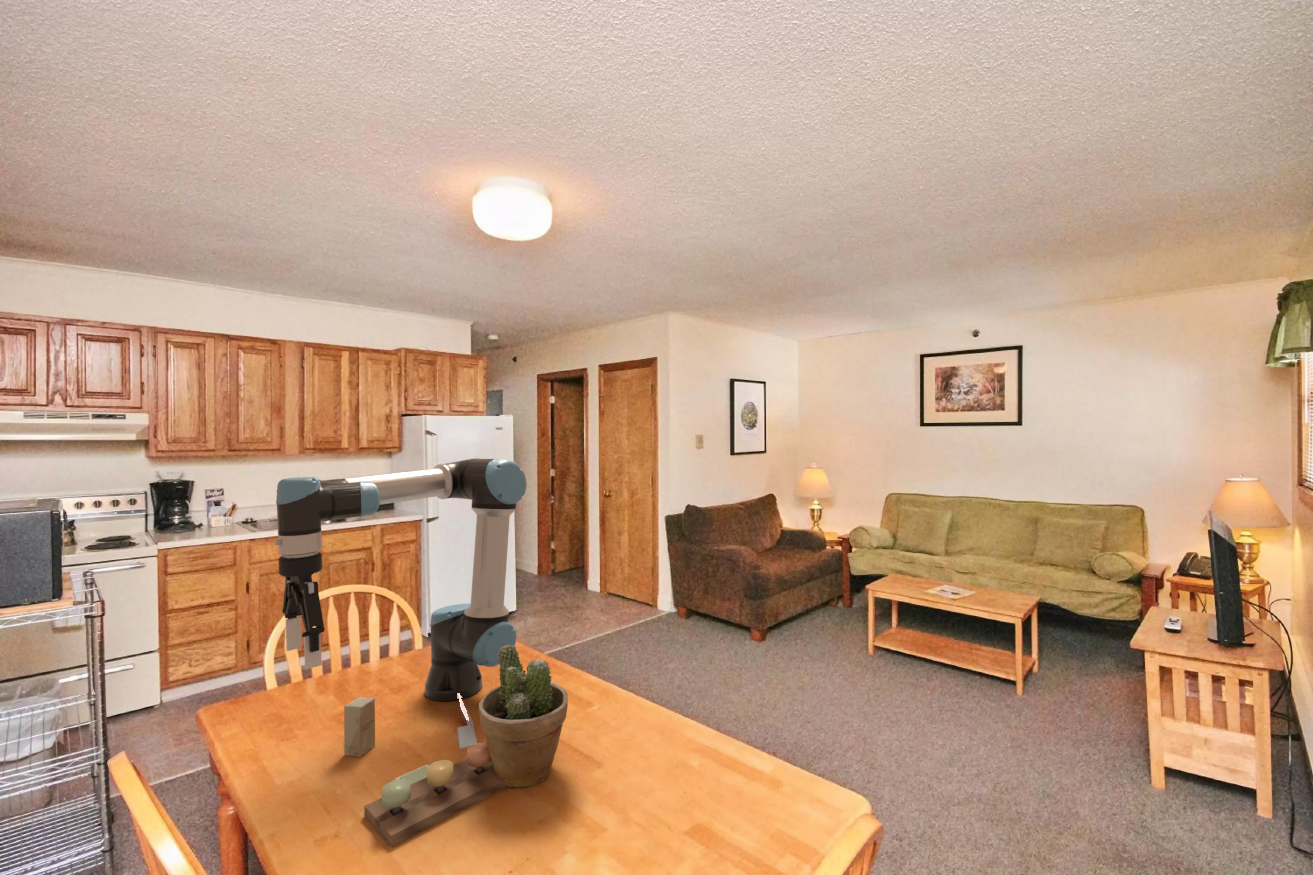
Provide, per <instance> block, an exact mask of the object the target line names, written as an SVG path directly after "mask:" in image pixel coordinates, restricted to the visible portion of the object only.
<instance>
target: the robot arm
mask: <svg viewBox="0 0 1313 875" xmlns="http://www.w3.org/2000/svg"><path fill="white" fill-rule="evenodd" d="M276 488H277V489H276V500H275V504H276V513H277V517H276V518H277V537H278V540H275V541H274V543H275V544H274V545H275V546H278V554H279V555H280V556H279V558H278V574H279V575H280V576H281V577H284V578H285V581H284V582H285V585H284V593H283V602H282V610H281V611H282V613H283V614H284V615H283V616H284V619H285V642H286V643H285V644H286V645H285V646H286V647H285V649H286V651H287V652H290V651H293V650H298V649H302V648H303V647H304V650H303V651H304V669H305V670H310V669H312V668H316V667H320V666H322V637H321V633H324V632H325V624H324V618H323V613H322V607H321V600H320V596H319V595H320V594H319V582H318V581H313V578H312V575H313V574H317V573H320V571H322V570H323V554H322V553H321V552H320V551H321V550H322V549H323V540H322V538H323V535H322V522H328V521H335V520H342V519H343V520H344V519H352V518H363V517H365V516H366V517H367V516H370V515H374V514H375V513H376V512H377V511H378V510H379V508H380V505H386V504H387V505H388V504H394V503H395V504H396V503H400V502H408V501H415V500H422V499H426V498H435V497H437V498H438V499H440V500H446V499H460V500H461V499H464V500H471V510H472V511H473V512H474V513H475V514H476V525H475V536H474V538H475V539H474V550H473V551H474V552H473V567H472V579H471V595H470V603H458V604H452V605H446V606H443V607H440V608H437V609H436V610H434V611H432V613H431V616H430V623H429V626H430V656H431V660H430V661H431V664H430V668H429V670H428V671H429V672H428V675H427V677H426V681H425V685H424V695H425V697H427V699H429V700H432V701H437V702H449V701H450V702H452V701H458V700H457V693H460V695H461V696H462V697H463V698H462V699H465V698H469V697H470V696H473V695H475V694H476V693H478V692H479V691H481V690H482V688H483V676H482V673H481V671H480V670H481V669H480V668H479V666H480V667H482V666H484V667H487V668H493V667H497V666H500V664H499V661H498V660H499V658H497V656H498V652H499V650H500V648H501V647H503V646H508V645H512V646H514V647H515V648H516V646H515V645H516V643H517V636H518V635H517V630H516V628H514V625H513V624H512V623H510V622H509V619H510V611H509V609H508V608H507V607H506V605H505V592H506V591H505V590H506V576H507V575H506V574H507V561H508V545H509V531H510V519H511V518H510V516H511V515H512V514H513V513H514V512H515V511H516V510H517V503H518V502H519V501H521V500H522V498H523V496H524V495H525V493H526V490H527V478H526V475H525V472H524V470H523V469H522V468H521V466H520V465H519V464H518V463H517V462H515V461H513V460H510V459H504V458H468V459H464V460H463V459H462V460H459V461H458V460H457V461H453V462H448V463H440V464H437V465H435V466H434V467H433V468H429V469H419V470H416V469H415V470H410V471H399V472H389V473H381V474H373V475H372V474H371V475H363V476H362V475H360V476H354V477H353V476H351V477H344V478H336V479H335V478H334V479H325V480H321V479H319V478H318V477H316V476H303V477H302V476H301V477H299V476H298V477H287V478H283V479H280V480H279V481H278V483H277V485H276ZM302 622H303V628H304V632H303V631H302V630H303V629H302ZM302 640H303V641H302ZM303 644H304V645H303Z"/></svg>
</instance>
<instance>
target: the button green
mask: <svg viewBox="0 0 1313 875" xmlns="http://www.w3.org/2000/svg"><path fill="white" fill-rule="evenodd" d="M410 797H411V785H410V781H409V780H407V779H397V780H391V781H389V782H387V783H386V784H384V785H383V787H382V789H381V798H382V805H383V806H384V807H387V808H393V814H397V813H399V812H400V811H401V805H403V804H405V803H407V802H408V801H409V799H410Z"/></svg>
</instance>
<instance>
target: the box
mask: <svg viewBox="0 0 1313 875" xmlns="http://www.w3.org/2000/svg"><path fill="white" fill-rule="evenodd" d="M375 702H376V698H374V697H366V696H358V697H356V698H355V699H353V700H351V701H350V702H349V703H347V704H345V705H344V707H343V711H344V712H343V715H344V716H343V718H344V722H343V725H344V730H343V731H344V732H343V736H344V737H343V738H344V739H343V740H344V743H343V744H344V746H343V747H344V749H343V750H344V756H349V757H350V756H351V757H362V756H363V755H365V754H366V753H368V752H369V751H370V750H371V749H373V748H374V747H375V746H376V703H375Z"/></svg>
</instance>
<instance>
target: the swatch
mask: <svg viewBox="0 0 1313 875" xmlns="http://www.w3.org/2000/svg"><path fill="white" fill-rule="evenodd" d="M429 765H430V764H427V763H426V764H425V765H423V766H420V767H417V768H416V769H414V770H410V771H409V772H406V773H404V774H402V775H400V776H397V777H395V778H394V780H397V779H407V780H409V781H410V785H411V784H413V783H415V782H418V781H420V780H422V779H424V778H426V777H427V768H428V766H429Z"/></svg>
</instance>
